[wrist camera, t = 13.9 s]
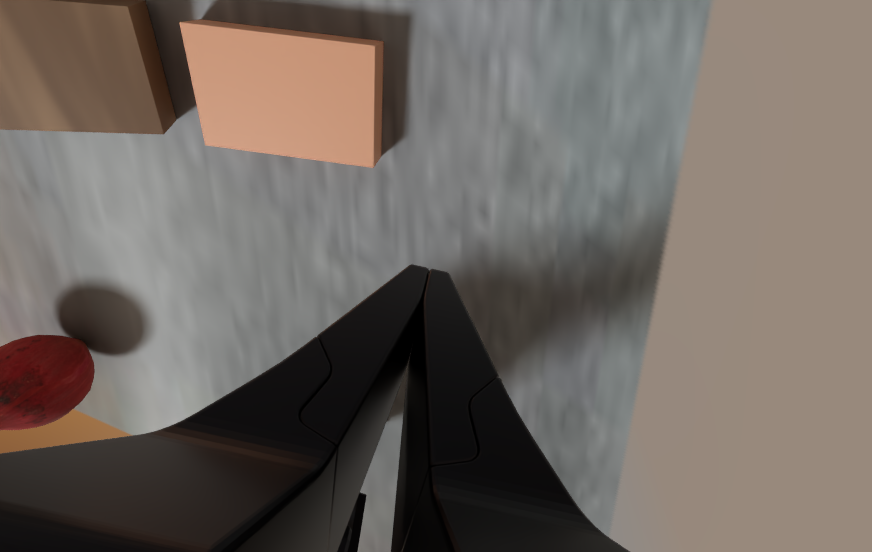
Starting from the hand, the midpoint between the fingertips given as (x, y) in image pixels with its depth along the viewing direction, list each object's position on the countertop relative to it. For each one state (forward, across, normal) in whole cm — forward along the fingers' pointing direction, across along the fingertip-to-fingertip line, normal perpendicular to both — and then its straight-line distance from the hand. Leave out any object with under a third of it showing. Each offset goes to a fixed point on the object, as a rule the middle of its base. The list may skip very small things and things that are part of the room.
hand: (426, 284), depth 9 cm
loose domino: (+12, +4, 0) cm, 13 cm away
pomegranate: (+13, +24, +21) cm, 34 cm away
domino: (+12, +14, 0) cm, 18 cm away
